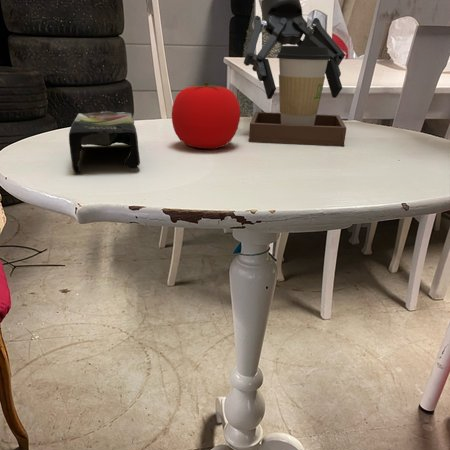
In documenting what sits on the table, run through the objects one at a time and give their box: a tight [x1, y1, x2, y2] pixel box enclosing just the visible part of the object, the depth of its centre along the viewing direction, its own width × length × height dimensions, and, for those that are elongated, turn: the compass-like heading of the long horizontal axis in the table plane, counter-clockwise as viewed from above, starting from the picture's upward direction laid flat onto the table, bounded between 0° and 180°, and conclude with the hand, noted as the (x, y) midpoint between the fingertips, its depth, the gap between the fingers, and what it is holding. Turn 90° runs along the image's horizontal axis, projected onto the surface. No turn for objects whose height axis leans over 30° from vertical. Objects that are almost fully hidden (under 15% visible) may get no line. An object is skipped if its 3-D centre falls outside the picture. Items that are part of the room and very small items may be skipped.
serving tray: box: [248, 111, 347, 147], centre depth 92 cm, size 18×15×3 cm
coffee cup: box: [276, 45, 330, 126], centre depth 90 cm, size 10×10×15 cm
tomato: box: [171, 81, 242, 150], centre depth 81 cm, size 12×12×10 cm
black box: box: [68, 110, 141, 174], centre depth 73 cm, size 20×10×6 cm, turn 12°
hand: (305, 93), depth 87 cm, fingers open, 13 cm apart
